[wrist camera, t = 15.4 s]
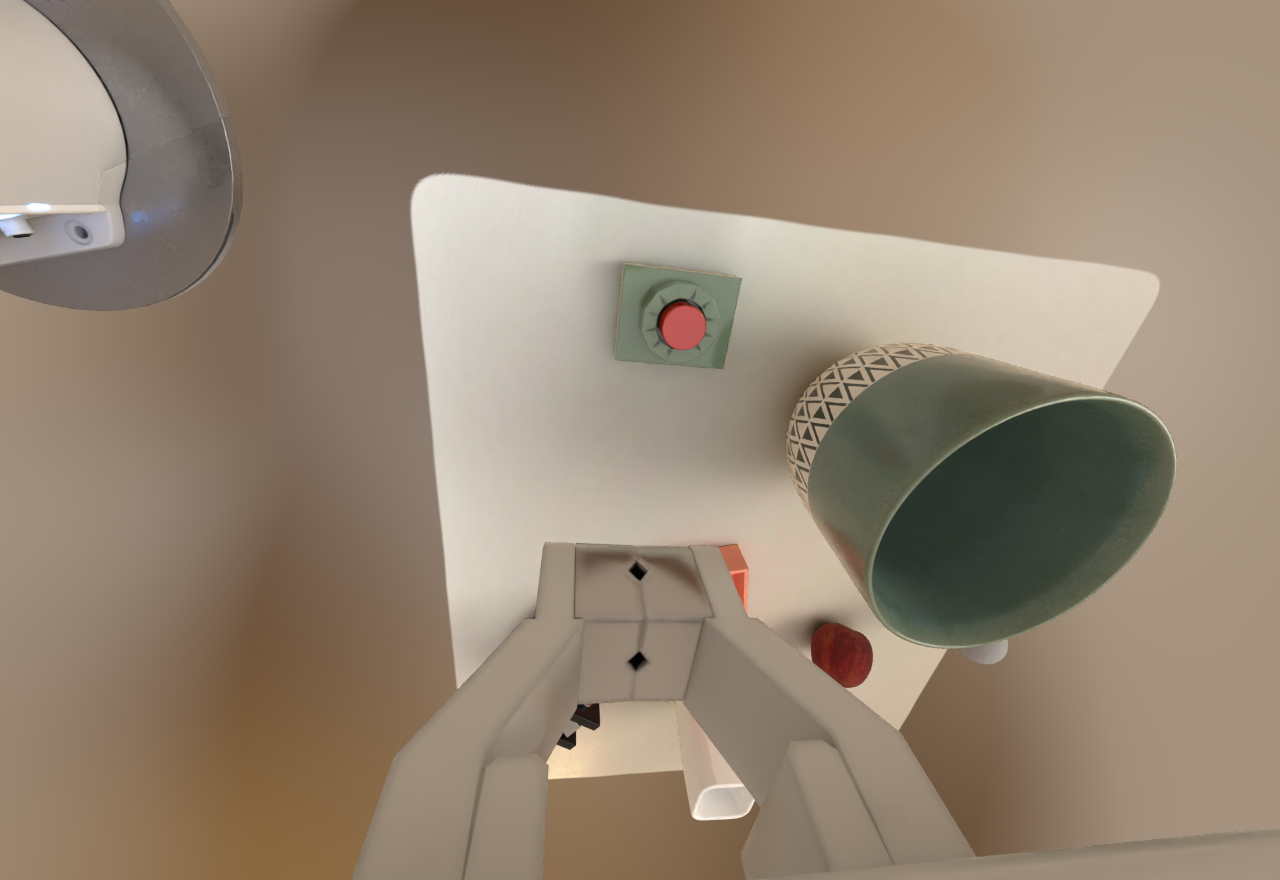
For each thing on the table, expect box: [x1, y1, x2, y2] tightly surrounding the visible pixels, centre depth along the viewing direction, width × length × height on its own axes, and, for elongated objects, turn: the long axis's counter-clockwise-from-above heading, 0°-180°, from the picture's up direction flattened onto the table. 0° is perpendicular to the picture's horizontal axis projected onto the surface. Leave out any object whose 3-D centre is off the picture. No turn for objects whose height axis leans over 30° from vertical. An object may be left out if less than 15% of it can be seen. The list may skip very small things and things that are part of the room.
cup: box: [676, 701, 755, 820], centre depth 59 cm, size 7×7×15 cm
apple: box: [811, 623, 873, 688], centre depth 60 cm, size 7×8×8 cm
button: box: [659, 302, 706, 350], centre depth 37 cm, size 4×4×2 cm
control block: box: [614, 262, 742, 369], centre depth 39 cm, size 10×8×4 cm
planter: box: [786, 343, 1177, 649], centre depth 38 cm, size 20×20×21 cm
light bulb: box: [958, 639, 1008, 664], centre depth 58 cm, size 5×5×10 cm
